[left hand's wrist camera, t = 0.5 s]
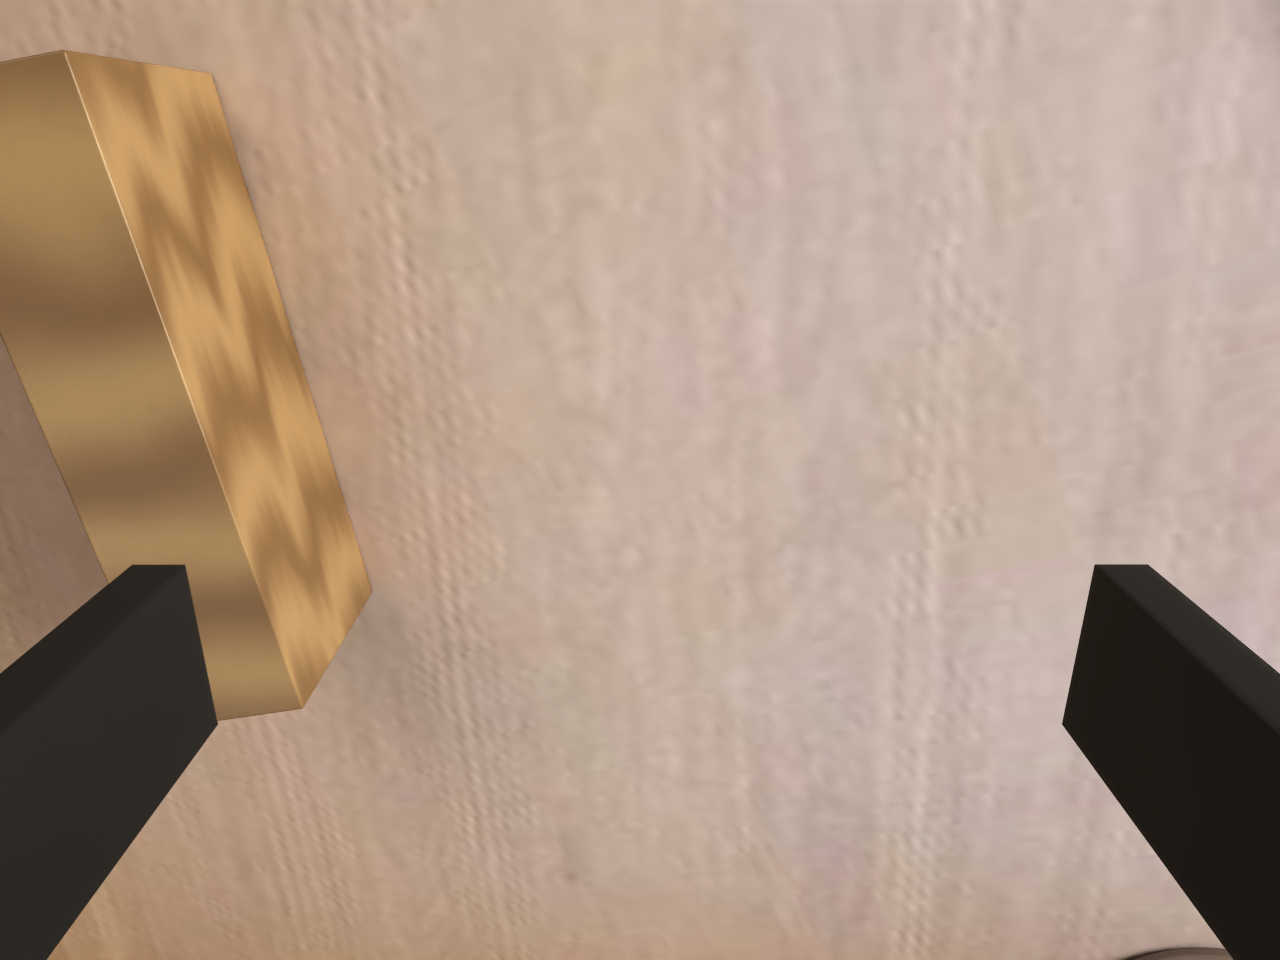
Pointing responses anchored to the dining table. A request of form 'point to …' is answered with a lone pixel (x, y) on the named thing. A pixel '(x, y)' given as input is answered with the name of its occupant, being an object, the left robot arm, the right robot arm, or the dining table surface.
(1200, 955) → the right robot arm
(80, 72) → the bar
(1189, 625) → the left robot arm
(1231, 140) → the dining table surface
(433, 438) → the dining table surface
